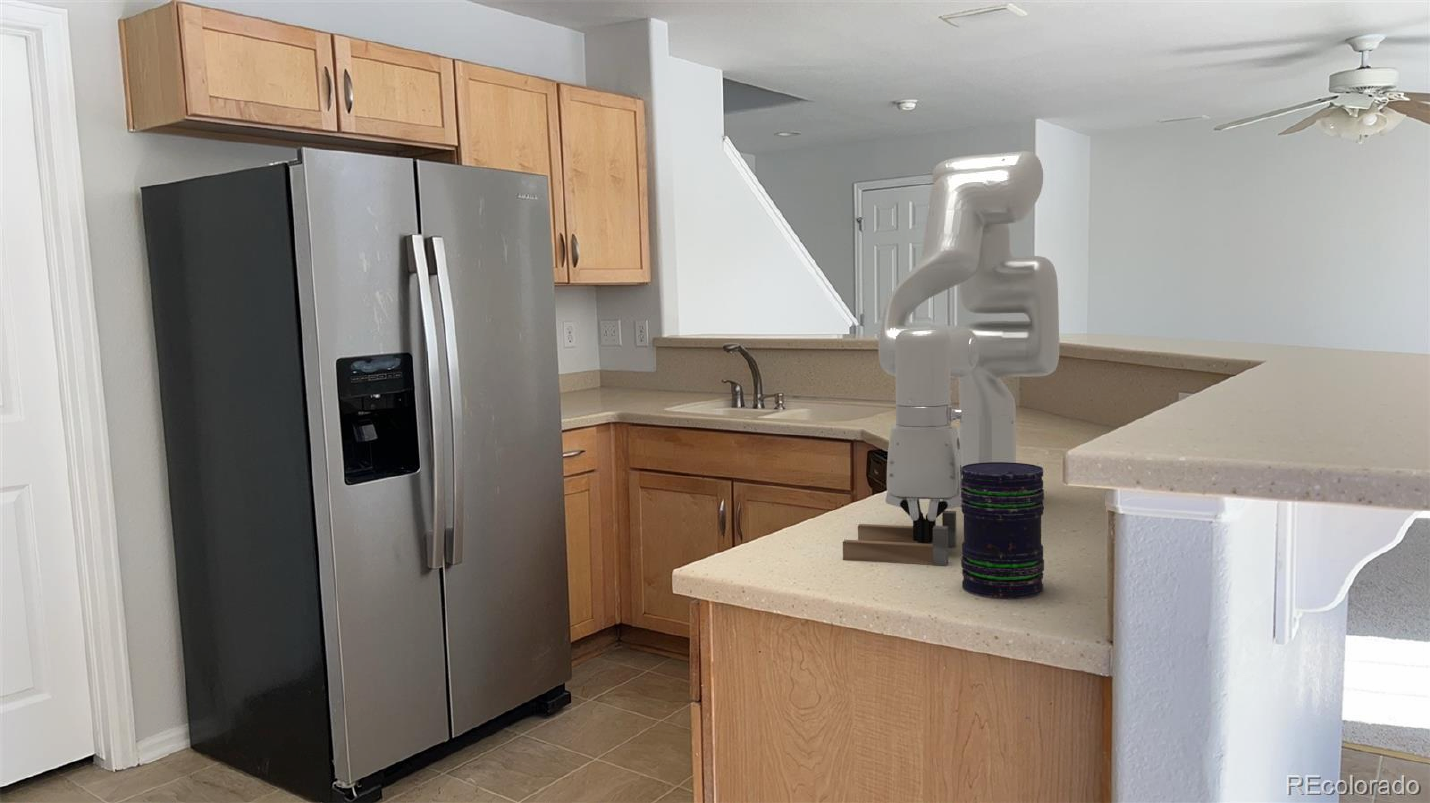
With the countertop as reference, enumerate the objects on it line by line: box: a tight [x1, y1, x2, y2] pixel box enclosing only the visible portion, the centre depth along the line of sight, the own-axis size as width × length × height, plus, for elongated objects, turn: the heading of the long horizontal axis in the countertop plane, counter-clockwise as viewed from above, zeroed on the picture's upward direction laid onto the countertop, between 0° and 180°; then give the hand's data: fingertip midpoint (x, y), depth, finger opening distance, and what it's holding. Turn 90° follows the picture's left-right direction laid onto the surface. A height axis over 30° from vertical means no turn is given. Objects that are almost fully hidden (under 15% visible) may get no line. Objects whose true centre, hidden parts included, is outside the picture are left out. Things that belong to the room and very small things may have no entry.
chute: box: [842, 510, 958, 567], centre depth 143 cm, size 12×14×5 cm
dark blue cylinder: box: [960, 462, 1045, 600], centre depth 124 cm, size 10×10×15 cm
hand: (924, 546), depth 142 cm, fingers closed
